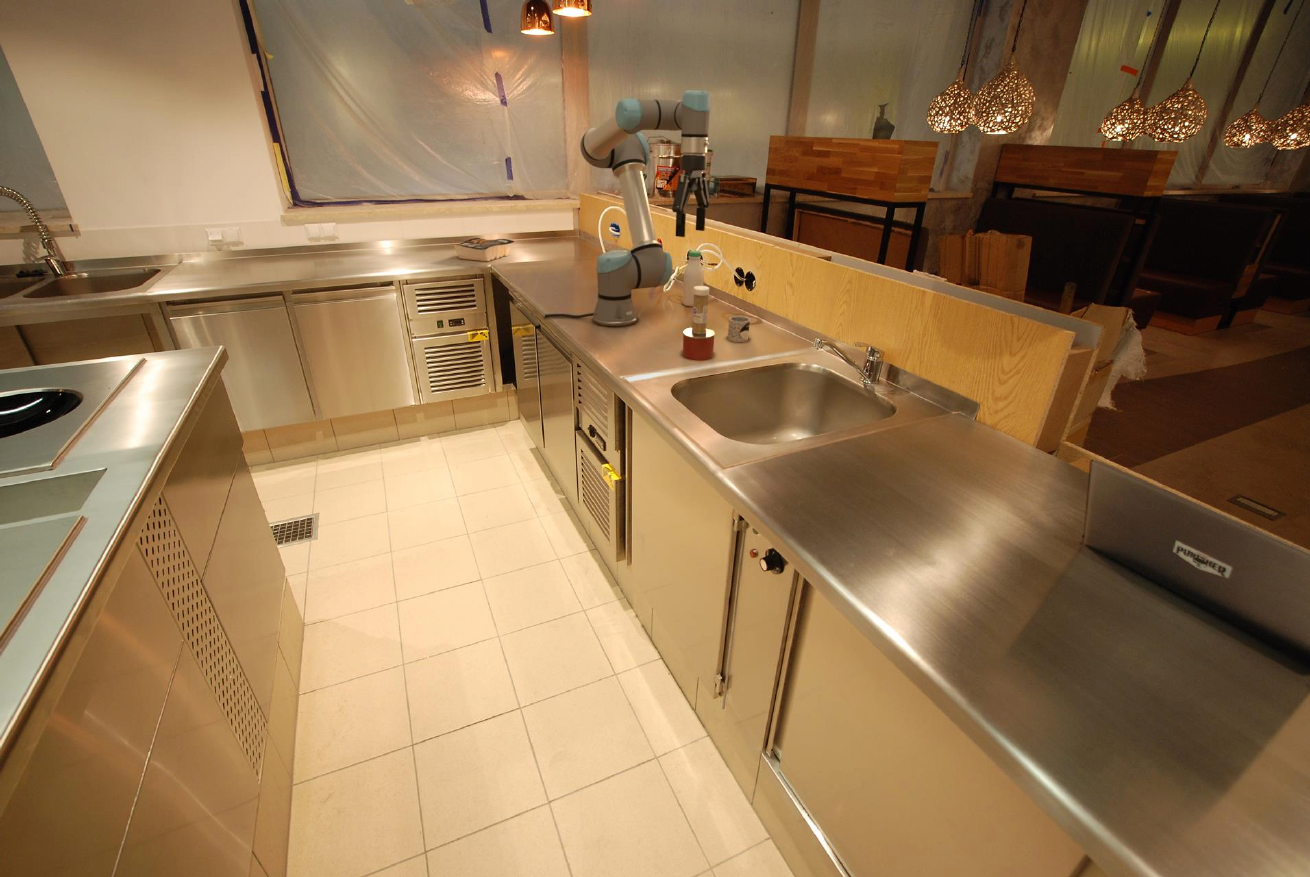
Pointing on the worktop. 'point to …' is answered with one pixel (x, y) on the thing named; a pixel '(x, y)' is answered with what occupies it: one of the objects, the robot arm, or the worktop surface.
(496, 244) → the food packaging
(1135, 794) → the worktop surface
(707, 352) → the tin
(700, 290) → the sprinkles bottle
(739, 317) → the mug
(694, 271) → the milk bottle
